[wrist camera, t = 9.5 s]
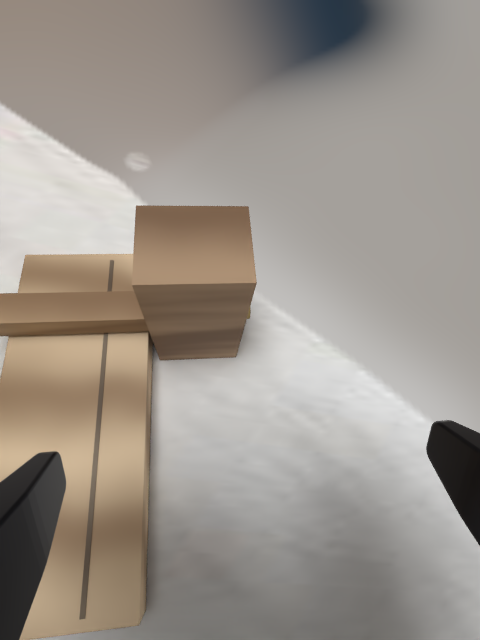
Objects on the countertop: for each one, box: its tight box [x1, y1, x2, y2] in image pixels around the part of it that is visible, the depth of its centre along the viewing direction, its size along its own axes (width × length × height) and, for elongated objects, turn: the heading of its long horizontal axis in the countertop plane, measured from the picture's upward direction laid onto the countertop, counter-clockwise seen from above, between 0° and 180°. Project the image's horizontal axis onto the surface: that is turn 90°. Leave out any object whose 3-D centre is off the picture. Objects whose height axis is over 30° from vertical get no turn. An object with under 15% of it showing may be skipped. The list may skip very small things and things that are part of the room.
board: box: [0, 254, 153, 640], centre depth 20 cm, size 20×8×2 cm, turn 4°
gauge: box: [0, 206, 257, 360], centre depth 19 cm, size 4×15×10 cm, turn 94°
